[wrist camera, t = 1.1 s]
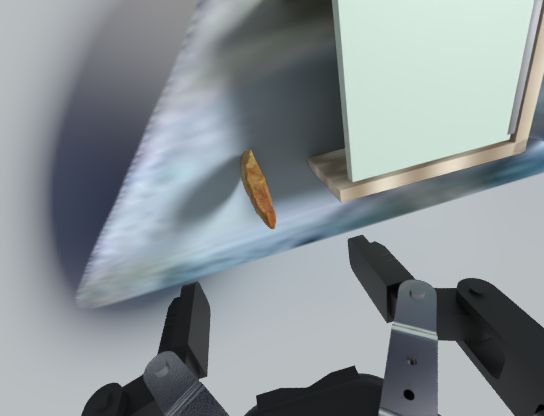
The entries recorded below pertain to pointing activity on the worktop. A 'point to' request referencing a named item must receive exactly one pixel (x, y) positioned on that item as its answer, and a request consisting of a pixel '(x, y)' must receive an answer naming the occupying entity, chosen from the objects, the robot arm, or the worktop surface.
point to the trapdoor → (429, 77)
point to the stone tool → (257, 189)
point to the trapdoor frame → (335, 166)
